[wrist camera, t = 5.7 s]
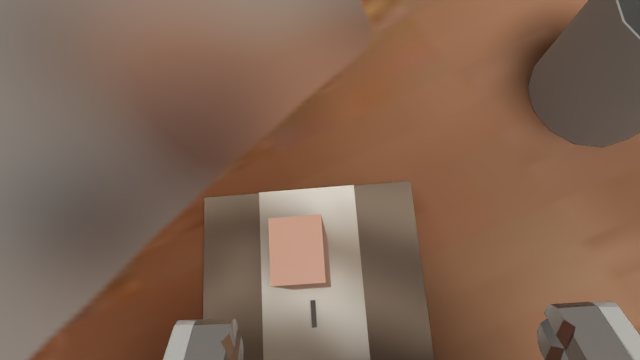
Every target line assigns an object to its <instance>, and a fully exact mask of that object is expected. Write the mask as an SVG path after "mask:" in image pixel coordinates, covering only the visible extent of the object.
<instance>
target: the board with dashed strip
mask: <svg viewBox="0 0 640 360" xmlns="http://www.w3.org/2000/svg"><path fill="white" fill-rule="evenodd" d="M318 214H321V216H322V220H323V224H324V227H325V231H326V235H327V238H328V250H329V264H330V278H331V287H326V288H312V289H298V290H290V289H283V288H277V287H271V286H270V255H269V224H268V218H280V217H292V216H305V215H318ZM207 319H236V321H237V324H238V330H237V334H239V335H240V336H241V337H242V341H243V348H244V353H243V360H434V353H433V346H432V338H431V331H430V323H429V316H428V309H427V301H426V294H425V286H424V279H423V272H422V264H421V257H420V250H419V242H418V235H417V227H416V220H415V213H414V205H413V198H412V190H411V183H410V181H408V182H396V183H383V184H370V185H358V186H354V185H348V186H336V187H323V188H311V189H298V190H286V191H273V192H261V193H258V194H245V195H233V196H220V197H208V198H205V202H204V281H203V320H207Z"/></svg>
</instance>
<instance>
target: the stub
mask: <svg viewBox="0 0 640 360" xmlns="http://www.w3.org/2000/svg"><path fill="white" fill-rule="evenodd" d="M268 224H269V255H270V286H271V287H277V288H283V289H290V290H298V289H312V288H326V287H331V278H330V264H329V250H328V238H327V235H326V231H325V227H324V224H323V220H322V216H321V214H318V215H305V216H292V217H280V218H268Z"/></svg>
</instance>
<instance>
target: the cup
mask: <svg viewBox="0 0 640 360" xmlns="http://www.w3.org/2000/svg"><path fill="white" fill-rule="evenodd" d="M528 91H529V95H530V99H531V103H532V108H533V111H534V112H535V113H536V114H537V116H538V117H539V118H540V119H541V121H542V122H543V123H544V124H545V126H546V127H547V128H548V129H549V130H550V131H551V132H553V133H555V134H557V135H559V136H560V137H562V138H564V139H566V140H568V141H570V142H571V143H573V144H578V145H586V146H594V147H605V146H608V145H612V144H615V143H618V142H621V141H624V140H627V139H629V138H631V137H633V136H634V135H636V134H638V133H640V0H588V2H587V3H586V4H585V5H584V6H583V8H582V9H581V10H580V11H579V12H578V14H577V15H576V16H575V17H574V19H573V20H572V21H571V22H570V23H569V25H568V26H567V27H566V28H565V29H564V31H563V32H562V33H561V34H560V35H559V37H558V38H557V39H556V40H555V42H554V43H553V44H552V45H551V46H550V48H549V49H548V50H547V51H546V52H545V54H544V55H543V56H542V57H541V59H540V60H539V61H538V62H537V63H536V65H535V66H534V68H533V71H532V75H531V78H530V81H529V85H528Z"/></svg>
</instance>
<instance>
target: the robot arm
mask: <svg viewBox="0 0 640 360" xmlns="http://www.w3.org/2000/svg"><path fill="white" fill-rule="evenodd" d="M544 313H545V315H546V317H547V319H546V320H544V321H543V322H541V323H540V325H539V328H538V330H537V338H538V344H539V348H540V351H541V353H542V355H543V357H544V360H640V335H639V334H638V332H637V331H636V330H635V328H634V327H633V326H632V324H631V323H630V322H629V320H628V319H627V317H626V316H625V315H624V313H623V312H622V311H621V309H620V308H619V307H618V305H616V304H615V303H614V302H609V301H606V302H591V303H590V302H579V303H563V304H551V305H549V306H547V308H546V310H545V312H544ZM237 330H238V324H237V321H236V319H207V320H178V321H177V323H176V324H175V326H174V327H173V330H172V333H171V336H170V339H169V342H168V345H167V348H166V351H165V354H164V357H163V360H243V353H244V348H243V341H242V337H241V336H240V335H239V334H237Z"/></svg>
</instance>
